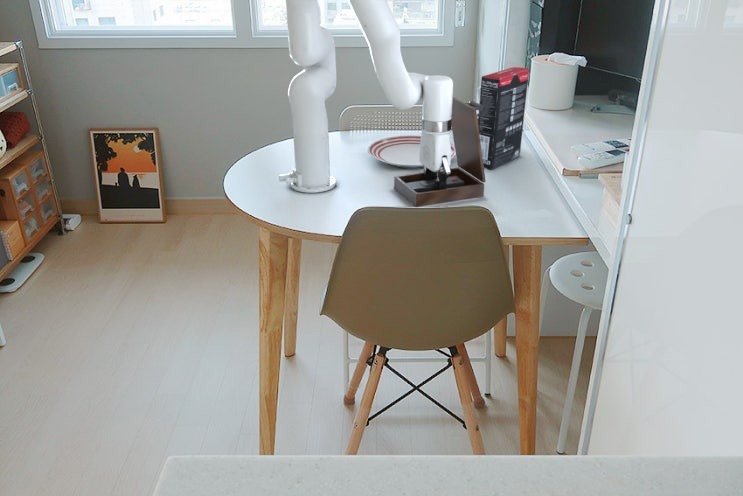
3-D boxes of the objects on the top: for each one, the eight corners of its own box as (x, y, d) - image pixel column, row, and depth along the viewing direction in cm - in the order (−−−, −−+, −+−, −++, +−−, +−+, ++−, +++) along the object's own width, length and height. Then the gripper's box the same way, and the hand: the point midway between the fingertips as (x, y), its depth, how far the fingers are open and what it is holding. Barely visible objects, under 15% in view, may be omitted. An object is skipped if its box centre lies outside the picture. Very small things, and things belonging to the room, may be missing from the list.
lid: (473, 109, 175) (491, 103, 176) (447, 96, 187) (464, 90, 188) (483, 182, 185) (500, 176, 186) (457, 166, 197) (473, 160, 198)
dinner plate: (472, 166, 211) (473, 155, 210) (388, 178, 202) (388, 167, 201) (432, 141, 234) (432, 131, 233) (355, 151, 225) (354, 141, 224)
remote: (412, 199, 185) (413, 188, 184) (405, 193, 189) (405, 182, 188) (463, 192, 190) (464, 180, 188) (455, 186, 194) (456, 174, 193)
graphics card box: (502, 152, 222) (509, 65, 211) (522, 157, 218) (530, 68, 207) (473, 166, 211) (478, 74, 199) (494, 171, 207) (500, 78, 195)
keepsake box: (415, 210, 181) (416, 194, 179) (394, 191, 193) (394, 176, 191) (483, 199, 187) (484, 184, 185) (458, 181, 199) (458, 167, 198)
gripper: (410, 118, 187) (409, 182, 195) (438, 135, 173) (436, 204, 181) (435, 115, 190) (433, 178, 198) (465, 132, 175) (462, 200, 183)
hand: (434, 190), depth 189 cm, fingers open, 5 cm apart
